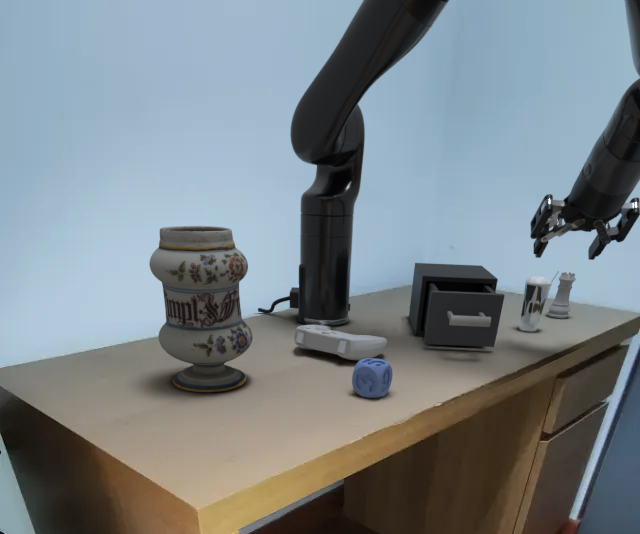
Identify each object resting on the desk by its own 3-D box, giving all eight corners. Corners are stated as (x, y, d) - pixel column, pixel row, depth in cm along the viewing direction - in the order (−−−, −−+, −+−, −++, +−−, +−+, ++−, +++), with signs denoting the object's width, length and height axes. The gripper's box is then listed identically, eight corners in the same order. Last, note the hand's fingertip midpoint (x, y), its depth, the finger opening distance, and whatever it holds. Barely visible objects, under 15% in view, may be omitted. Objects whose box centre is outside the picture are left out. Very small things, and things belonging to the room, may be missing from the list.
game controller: (395, 334, 89) (363, 331, 81) (389, 363, 90) (357, 363, 83) (319, 319, 95) (283, 315, 87) (315, 347, 97) (280, 345, 89)
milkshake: (547, 333, 105) (562, 273, 99) (518, 332, 105) (532, 272, 99) (540, 327, 109) (554, 269, 103) (512, 326, 109) (525, 268, 103)
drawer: (501, 356, 88) (513, 302, 84) (428, 353, 88) (435, 299, 84) (479, 327, 104) (488, 280, 99) (417, 324, 104) (422, 277, 99)
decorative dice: (364, 386, 78) (366, 356, 75) (391, 391, 76) (394, 361, 74) (350, 394, 75) (352, 363, 72) (378, 400, 73) (381, 368, 71)
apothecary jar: (209, 362, 84) (197, 220, 74) (272, 379, 79) (269, 228, 68) (145, 382, 76) (121, 226, 66) (210, 402, 71) (196, 236, 60)
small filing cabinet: (486, 338, 101) (498, 278, 95) (415, 335, 101) (422, 275, 95) (472, 319, 112) (481, 265, 107) (408, 317, 113) (415, 262, 107)
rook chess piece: (571, 319, 116) (583, 275, 111) (550, 318, 116) (561, 274, 111) (564, 314, 119) (575, 271, 115) (543, 313, 119) (553, 271, 115)
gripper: (666, 146, 76) (607, 235, 92) (559, 142, 77) (519, 231, 93) (668, 195, 75) (608, 276, 91) (560, 191, 76) (519, 273, 92)
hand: (563, 254), depth 92 cm, fingers open, 8 cm apart
